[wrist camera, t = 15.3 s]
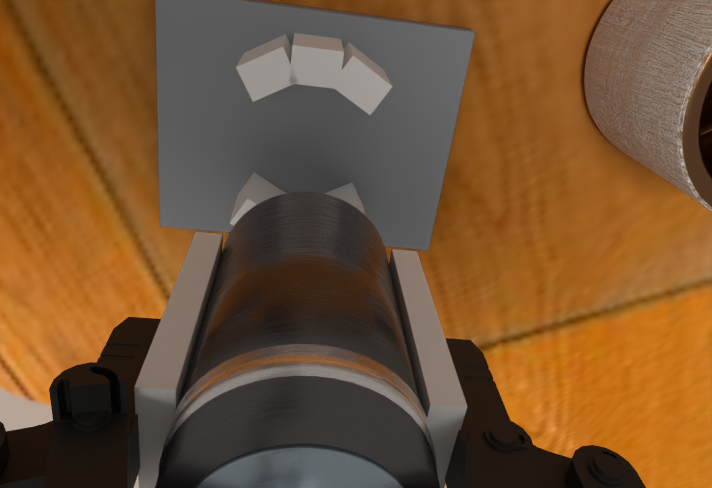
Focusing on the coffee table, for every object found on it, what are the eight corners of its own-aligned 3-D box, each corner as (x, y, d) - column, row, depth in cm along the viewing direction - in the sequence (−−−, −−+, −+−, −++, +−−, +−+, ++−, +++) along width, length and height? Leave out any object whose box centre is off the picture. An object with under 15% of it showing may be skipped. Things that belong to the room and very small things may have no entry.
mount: (160, -14, 28) (132, -3, 23) (469, 28, 30) (496, 45, 25) (164, 216, 33) (141, 260, 29) (424, 240, 35) (441, 285, 31)
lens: (223, 180, 17) (138, 412, 8) (402, 199, 17) (481, 434, 9) (216, 330, 19) (144, 625, 11) (374, 342, 19) (418, 630, 11)
